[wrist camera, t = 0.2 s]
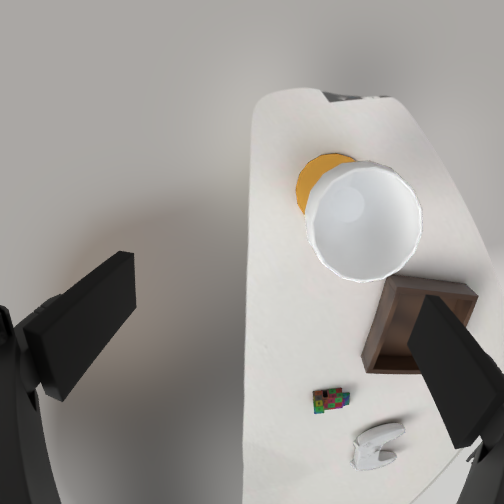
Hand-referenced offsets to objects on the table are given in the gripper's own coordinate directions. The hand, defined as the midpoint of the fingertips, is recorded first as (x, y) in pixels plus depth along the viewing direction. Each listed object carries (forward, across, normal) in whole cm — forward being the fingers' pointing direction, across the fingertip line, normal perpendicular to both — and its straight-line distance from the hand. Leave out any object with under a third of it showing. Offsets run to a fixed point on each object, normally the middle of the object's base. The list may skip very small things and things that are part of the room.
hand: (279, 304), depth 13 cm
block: (+25, +13, -30) cm, 41 cm away
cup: (+25, +6, +2) cm, 26 cm away
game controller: (+25, +26, -43) cm, 56 cm away
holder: (+25, +22, -14) cm, 36 cm away
